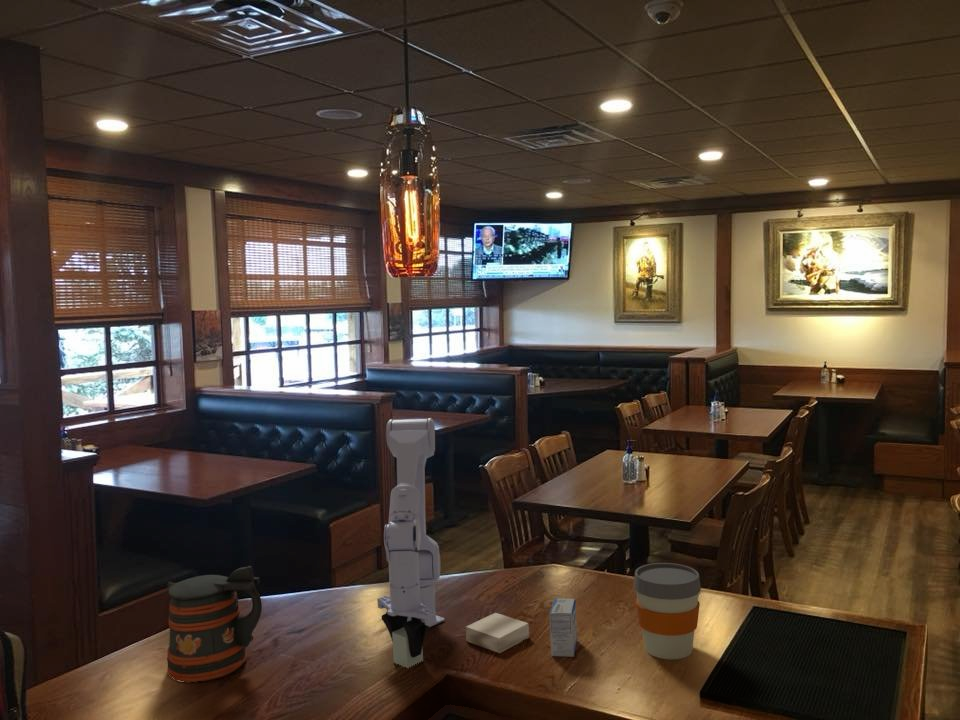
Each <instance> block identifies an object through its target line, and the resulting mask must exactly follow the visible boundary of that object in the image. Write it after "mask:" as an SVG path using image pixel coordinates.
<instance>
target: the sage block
mask: <svg viewBox="0 0 960 720" xmlns="http://www.w3.org/2000/svg"><path fill="white" fill-rule="evenodd" d="M392 639H393V642H392V653H393V654H392V655H393V663H394V664H396V665H398V664H399V665H398V666H400V665H401V667H402V668H405V667H406V669H407V668H408V669H410V668H412V667H414V666H416V665H418V664H420V663H421V661H422V662H424V652H423V651H424V649H423V648H424V647H423V646H422V651H421V654H420V655H418V656H416V657H414V658H413V657H411V655H410V650H409V641H408V637H407V633H406V631H405V629H404V627H403V628H401V629H398V630H396V631H394V632H392ZM392 639H391V640H392ZM419 662H420V663H419ZM417 663H418V664H417ZM415 664H416V665H415ZM413 665H414V666H413ZM411 666H412V667H411ZM409 667H410V668H409Z"/></svg>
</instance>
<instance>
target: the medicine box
mask: <svg viewBox="0 0 960 720" xmlns="http://www.w3.org/2000/svg"><path fill="white" fill-rule="evenodd" d="M576 602H577V601H576V598H564V597H563V598H559V597H558V598H554V600H553V603H552V606H551V609H550V612H549V631H550V632H549V634H550V638H549V639H550V651H551V652H550V653H551V656H552V657H565V658H566V657H567V658H574V656H575V652H576V647H577V643H578V630H577V629H578V626H577V625H578V624H577V603H576Z"/></svg>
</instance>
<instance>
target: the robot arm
mask: <svg viewBox="0 0 960 720" xmlns="http://www.w3.org/2000/svg"><path fill="white" fill-rule="evenodd" d="M385 430H386V431H385V437H386V444H387V447H388V449H389V451H390V453H391V454H392V456H393V457H394V458H396V482H397V483H396V486H395V487H393V488H392V489H391V491H390V499H389V512H388V522H387V523H385V525H384V530H383V544H384V549H385V555H386V557H385V558H386V562H387V563H388V576H389V577H388V579H389V596H387V595H383V596H380V597H378V598H377V599H376V601H377V609H381V610H383V609H385V610H386V612H385V613H384V614H382V615H381V620H382V622H383V623H384V625H385V628H387V630H388V633H389V635H390V639H391V642H392V643H393V639H392V632H394V631H396V630H398V629H401V628H403V627H404V629H405V631H406V633H407V637H408V641H409V650H410V655H411V657H413V658H414V657H416V656H418V655H420V654H421V651H422V647H423V645H424V642H425V641H424V640H425V639H426V638H425V637H426V635H427V632H428V630H429V628H431V627H433V626H435V625H438V624H440V623H441V622H444V621H445V618H444V617H442V616H440V615H437V613H436V594H435V590H436V588H435V581H438V580H439V579H440V578H441V577H440V576H441V555H440V547H439V545H438V542H436V541H435V540H434V539H433V538H432V537H430V536H429V535H427V524H426V523H427V521H426V479H425V478H426V476H425V472H426V471H425V468H426V463H427V459H428V458H431V457H433V456H435V451H436V428H435V421H434V419H433V418H432V417H429V418H409V419H405V418H404V419H393V418H390V419H389V420H388V421H387V423H386V428H385Z"/></svg>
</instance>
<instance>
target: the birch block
mask: <svg viewBox="0 0 960 720" xmlns="http://www.w3.org/2000/svg"><path fill="white" fill-rule="evenodd" d="M529 626H530V625H529V622H526V621H522V620H520V619H516V618H513V617H510V616H507V615H504V614H500V613H497V612H494V613H492V614H490V615H488V616H485V617H483V618H481V619H480V620H477V621H474V622H473V623H471V624H469V625H467V626H465V636H466V637H465V640H466V642H467V641H468V643H471V644H474V645H476V646H479V647H482V648H484V649H487V650H490V651H493V652H495V653H498V654H501V653H503V652H505V651H507V650H508V649H511V648H512V647H514V646H517V645H518V644H520V643H522V642H524V641H525V639H526V640H527V639H529V638H530V629H529V628H530V627H529ZM523 640H524V641H523Z"/></svg>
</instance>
